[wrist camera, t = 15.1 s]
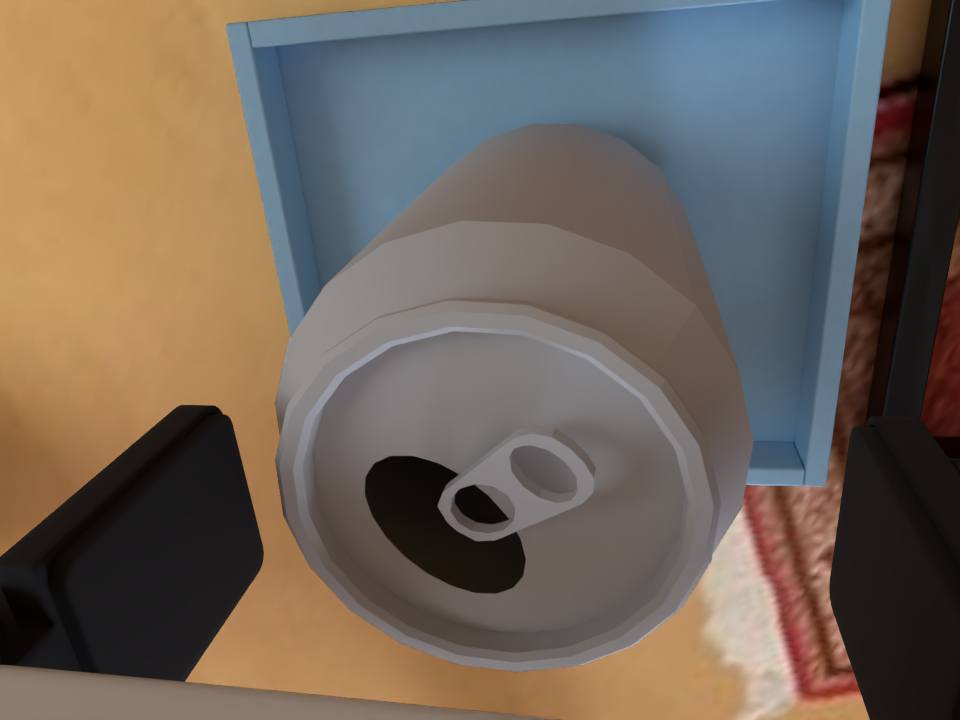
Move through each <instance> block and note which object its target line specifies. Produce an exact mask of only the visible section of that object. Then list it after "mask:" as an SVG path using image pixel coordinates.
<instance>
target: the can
mask: <svg viewBox="0 0 960 720" xmlns="http://www.w3.org/2000/svg"><path fill="white" fill-rule="evenodd" d="M275 405H276V412H277V419H278V426H279V433H280V441H279V445H278V450H277V454H276V459H275V463H276V469H277V476H278V483H279V489H280V496H281V503H282V509H283V516H284V518H285V520H286V522H287V523H288V525H289V527H290V529H291V531H292V533H293V535H294V537H295V539H296V541H297V543H298V545H299V547H300V549H301V551H302V553H303V555H304V557H305V559H306V561H307V563H308V565H309V567H310V568H311V569H312V570H313V571H314V572H315V573H316V574H317V575H318V576H319V577H320V578H321V580H322V581H323V582H324V583H325V584H326V585H327V586H328V587H329V588H330V589H331V590H332V591H333V592H334V594H335V595H336V596H337V597H338V598H339V599H340V600H341V601H342V602H343V603H344V604H345V605H346V606H347V608H348V609H349V610H351V611H352V612H354V613H355V614H357V615H358V616H360V617H361V618H363V619H364V620H366V621H367V622H369V623H370V624H372V625H373V626H375V627H377V628H378V629H380V630H381V631H383V632H384V633H386V634H387V635H389V636H390V637H392V638H393V639H395V640H396V641H398V642H399V643H401V644H404V645H406V646H409V647H412V648H414V649H417V650H420V651H423V652H425V653H428V654H431V655H433V656H436V657H439V658H442V659H444V660H447V661H450V662H452V663H455V664H459V665H466V666H474V667H481V668H489V669H496V670H504V671H511V672H525V671H535V670H545V669H555V668H565V667H574V666H581V665H583V664H586V663H589V662H591V661H594V660H597V659H599V658H602V657H605V656H607V655H610V654H613V653H615V652H618V651H621V650H623V649H626V648H629V647H631V646H634V645H636V644H637V643H638V642H640V641H641V640H642V639H644V638H645V637H646V636H647V635H649V634H650V633H651V632H653V631H654V630H655V629H656V628H658V627H659V626H660V625H662V624H663V623H664V622H665V621H667V620H668V619H669V618H671V617H672V616H673V615H674V614H676V613H677V612H678V611H680V610H681V609H682V607H683V605H684V604H685V602H686V601H687V599H688V597H689V596H690V594H691V593H692V591H693V589H694V588H695V586H696V585H697V583H698V581H699V580H700V578H701V577H702V575H703V573H704V572H705V570H706V569H707V567H708V565H709V564H710V562H711V560H712V554H713V552H714V551H715V549H716V548H717V546H718V544H719V543H720V541H721V540H722V538H723V536H724V535H725V533H726V532H727V530H728V528H729V527H730V525H731V524H732V522H733V520H734V519H735V517H736V515H737V514H738V512H739V511H740V509H741V507H742V503H743V497H744V492H745V486H746V481H747V475H748V470H749V464H750V459H751V453H752V448H753V442H754V441H753V436H752V432H751V427H750V422H749V417H748V412H747V408H746V403H745V398H744V393H743V388H742V384H741V379H740V374H739V370H738V367H737V364H736V361H735V358H734V355H733V352H732V349H731V346H730V343H729V340H728V337H727V334H726V331H725V328H724V325H723V322H722V319H721V316H720V313H719V310H718V307H717V304H716V301H715V298H714V295H713V292H712V289H711V286H710V283H709V280H708V277H707V274H706V271H705V268H704V265H703V262H702V259H701V256H700V253H699V250H698V247H697V244H696V241H695V238H694V235H693V232H692V229H691V226H690V223H689V220H688V217H687V214H686V211H685V208H684V206H683V205H682V203H681V201H680V200H679V198H678V197H677V195H676V193H675V192H674V190H673V189H672V187H671V185H670V184H669V182H668V181H667V179H666V177H665V176H664V174H663V173H662V171H661V169H659V168H658V167H657V166H656V165H654V164H653V163H652V162H651V161H649V160H648V159H647V158H646V157H644V156H643V155H642V154H641V153H639V152H638V151H637V150H636V149H634V148H633V147H632V146H631V145H629V144H628V143H627V142H626V141H624V140H622V139H619V138H616V137H614V136H611V135H608V134H605V133H603V132H600V131H597V130H594V129H591V128H589V127H586V126H583V125H580V124H536V123H532V124H529V125H526V126H523V127H520V128H517V129H514V130H510V131H507V132H504V133H501V134H498V135H495V136H492V137H488V138H487V139H486V140H484V141H483V142H482V143H480V144H479V145H478V146H476V147H475V148H474V149H472V150H471V151H470V152H468V153H467V154H465V155H464V156H463V157H461V158H460V159H459V160H457V161H456V162H455V163H453V164H452V165H451V166H450V167H449V168H448V169H447V170H446V171H445V172H444V173H443V174H442V175H441V176H440V177H438V178H437V179H436V180H435V181H434V182H433V183H432V184H431V185H430V186H429V187H428V188H427V189H426V190H425V191H424V192H423V193H422V194H421V195H420V196H418V197H417V198H416V199H415V200H414V201H413V202H412V203H411V204H410V205H409V206H408V207H407V208H406V209H405V210H404V211H403V212H402V213H401V214H400V215H399V216H397V217H396V218H395V219H394V220H393V221H392V222H391V223H390V224H389V225H388V226H387V227H386V228H385V229H384V230H383V231H382V232H381V233H380V234H379V235H378V236H376V237H375V238H374V239H373V240H372V241H371V242H370V243H369V244H368V245H367V246H366V247H365V248H364V249H363V250H362V251H361V252H360V253H359V254H358V255H357V256H355V257H354V258H353V259H352V260H351V261H350V262H349V263H348V264H347V265H346V266H345V267H344V268H343V269H342V270H341V271H340V272H339V273H338V274H337V275H336V276H334V277H333V278H332V279H331V280H330V281H329V282H328V283H327V284H326V285H325V286H324V288H323V289H322V291H321V292H320V294H319V295H318V297H317V298H316V300H315V301H314V303H313V304H312V306H311V308H310V309H309V311H308V312H307V314H306V315H305V317H304V318H303V320H302V321H301V323H300V324H299V326H298V327H297V329H296V330H295V332H294V333H293V335H292V336H291V338H290V340H289V341H288V345H287V350H286V354H285V359H284V364H283V368H282V373H281V378H280V383H279V387H278V392H277V397H276V402H275Z"/></svg>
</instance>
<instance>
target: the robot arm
mask: <svg viewBox="0 0 960 720" xmlns="http://www.w3.org/2000/svg"><path fill="white" fill-rule="evenodd" d="M263 555H264V551H263V545H262V541H261V537H260V533H259V529H258V525H257V521H256V517H255V513H254V509H253V505H252V501H251V497H250V493H249V489H248V485H247V481H246V477H245V473H244V469H243V465H242V461H241V457H240V452H239V448H238V444H237V440H236V436H235V432H234V428H233V424H232V422H231V419H230V418H229V417H228V416H227V415H223V414H222V412H221V410H220V409H219V408H218V407H216V406H205V405H180V406H178V407H176V408H175V409H174V410H173V411H171V412H170V413H169V414H168V415H167V416H166V417H164V418H163V419H162V420H161V421H160V422H159V423H157V424H156V425H155V426H154V427H153V428H151V429H150V430H149V431H148V432H147V433H146V434H144V435H143V436H142V437H141V438H140V439H139V440H137V441H136V442H135V443H134V444H133V445H131V446H130V447H129V448H128V449H127V450H126V451H124V452H123V453H122V454H121V455H120V456H119V457H117V458H116V459H115V460H114V461H113V462H111V463H110V464H109V465H108V466H107V467H106V468H104V469H103V470H102V471H101V472H100V473H99V474H97V475H96V476H95V477H94V478H93V479H91V480H90V481H89V482H88V483H87V484H86V485H84V486H83V487H82V488H81V489H80V490H78V491H77V492H76V493H75V494H74V495H73V496H71V497H70V498H69V499H68V500H67V501H66V502H64V503H63V504H62V505H61V506H60V507H58V508H57V509H56V510H55V511H54V512H53V513H51V514H50V515H49V516H48V517H47V518H46V519H44V520H43V521H42V522H41V523H40V524H38V525H37V526H36V527H35V528H34V529H33V530H31V531H30V532H29V533H28V534H27V535H26V536H24V537H23V538H22V539H21V540H20V541H18V542H17V543H16V544H15V545H14V546H13V547H11V548H10V549H9V550H8V551H7V552H6V553H4V554H3V555H2V556H1V557H0V720H560V719H551V718H542V717H532V716H523V715H514V714H504V713H495V712H485V711H475V710H465V709H455V708H445V707H436V706H426V705H416V704H406V703H396V702H386V701H377V700H366V699H356V698H346V697H336V696H326V695H316V694H306V693H296V692H286V691H276V690H266V689H255V688H245V687H234V686H224V685H213V684H203V683H192V682H185V680H186V679H187V677H188V676H189V674H190V673H191V671H192V670H193V668H194V667H195V666H196V664H197V663H198V661H199V660H200V658H201V657H202V655H203V654H204V652H205V651H206V649H207V648H208V646H209V645H210V643H211V642H212V640H213V639H214V637H215V636H216V634H217V633H218V632H219V630H220V629H221V627H222V626H223V624H224V623H225V621H226V620H227V618H228V617H229V615H230V614H231V612H232V611H233V609H234V608H235V606H236V605H237V603H238V602H239V600H240V599H241V598H242V596H243V595H244V593H245V592H246V590H247V589H248V587H249V586H250V584H251V583H252V581H253V580H254V578H255V577H256V575H257V574H258V572H259V570H260V569H261V566H262V563H263ZM830 600H831V606H832V609H833V613H834V615H835V618H836V621H837V624H838V627H839V630H840V633H841V636H842V639H843V642H844V645H845V648H846V651H847V654H848V657H849V660H850V662H851V665H852V668H853V671H854V674H855V677H856V680H857V683H858V686H859V689H860V692H861V695H862V698H863V701H864V704H865V707H866V709H867V712H868V715H869V718H870V720H960V474H959V472H958V471H957V469H956V468H955V467H954V465H953V464H952V462H951V461H950V460H949V458H948V457H947V456H946V454H945V453H944V451H943V450H942V449H941V447H940V446H939V444H938V443H937V442H936V440H935V439H934V438H933V436H932V435H931V433H930V432H929V431H928V429H927V428H926V426H925V425H924V424H923V422H922V421H921V420H920V419H919V418H918V417H884V416H871V417H870V418H869V419H868V420H867V423H866V426H865V427H859V426H855V427H854V428H853V429H852V432H851V436H850V442H849V449H848V456H847V463H846V470H845V477H844V484H843V491H842V498H841V505H840V512H839V519H838V527H837V534H836V541H835V548H834V555H833V562H832V569H831V576H830Z"/></svg>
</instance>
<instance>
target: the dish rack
mask: <svg viewBox="0 0 960 720" xmlns="http://www.w3.org/2000/svg"><path fill="white" fill-rule="evenodd" d="M959 213H960V0H932V5H931V11H930V17H929V24H928V30H927V36H926V43H925V49H924V55H923V62H922V68H921V75H920V81H919V87H918V94H917V100H916V106H915V113H914V119H913V125H912V132H911V138H910V145H909V151H908V157H907V164H906V170H905V176H904V183H903V189H902V195H901V202H900V208H899V215H898V221H897V227H896V234H895V240H894V246H893V253H892V259H891V265H890V272H889V278H888V285H887V291H886V297H885V304H884V310H883V316H882V323H881V329H880V335H879V342H878V348H877V355H876V361H875V367H874V374H873V380H872V386H871V393H870V399H869V405H868V412H867V418H866V423H867V420H868V419H869V418H870V417H871V416H884V417H918V418H919V419H920V416H921V411H922V406H923V400H924V395H925V390H926V385H927V380H928V374H929V369H930V364H931V359H932V354H933V348H934V343H935V338H936V333H937V328H938V322H939V317H940V312H941V307H942V302H943V296H944V291H945V286H946V281H947V276H948V271H949V265H950V260H951V255H952V250H953V245H954V239H955V234H956V229H957V224H958V219H959ZM865 426H866V425H865ZM933 438H934V439H935V440H936V442H937V443H938V444H939V446H940V447H941V449H942V450H943V451H944V453H945V454H946V456H947V457H948V458H949V460H950V461H951V462H952V464H953V465H954V467H955V468H956V469H957V471H958V472H959V474H960V437H933Z"/></svg>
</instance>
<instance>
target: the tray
mask: <svg viewBox="0 0 960 720" xmlns="http://www.w3.org/2000/svg"><path fill="white" fill-rule="evenodd" d="M891 4H892V0H462V1H452V2H442V3H431V4H421V5H411V6H401V7H391V8H381V9H370V10H360V11H350V12H340V13H330V14H320V15H310V16H299V17H289V18H279V19H269V20H259V21H250V22H239V23H228V24H227V25H226V30H227V34H228V39H229V44H230V49H231V53H232V58H233V63H234V68H235V72H236V77H237V82H238V87H239V92H240V96H241V101H242V106H243V111H244V115H245V120H246V125H247V130H248V134H249V139H250V144H251V149H252V153H253V158H254V163H255V168H256V173H257V177H258V182H259V187H260V192H261V196H262V201H263V206H264V211H265V215H266V220H267V225H268V230H269V234H270V239H271V244H272V249H273V254H274V258H275V263H276V268H277V273H278V277H279V282H280V287H281V292H282V296H283V301H284V306H285V311H286V316H287V320H288V325H289V330H290V335H291V336H292V335H293V333H294V332H295V330H296V329H297V327H298V326H299V324H300V323H301V321H302V320H303V318H304V317H305V315H306V314H307V312H308V311H309V309H310V308H311V306H312V304H313V303H314V301H315V300H316V298H317V297H318V295H319V294H320V292H321V291H322V289H323V288H324V286H325V285H326V284H327V283H328V282H329V281H330V280H331V279H332V278H333V277H334V276H336V275H337V274H338V273H339V272H340V271H341V270H342V269H343V268H344V267H345V266H346V265H347V264H348V263H349V262H350V261H351V260H352V259H353V258H354V257H355V256H357V255H358V254H359V253H360V252H361V251H362V250H363V249H364V248H365V247H366V246H367V245H368V244H369V243H370V242H371V241H372V240H373V239H374V238H375V237H376V236H378V235H379V234H380V233H381V232H382V231H383V230H384V229H385V228H386V227H387V226H388V225H389V224H390V223H391V222H392V221H393V220H394V219H395V218H396V217H397V216H399V215H400V214H401V213H402V212H403V211H404V210H405V209H406V208H407V207H408V206H409V205H410V204H411V203H412V202H413V201H414V200H415V199H416V198H417V197H418V196H420V195H421V194H422V193H423V192H424V191H425V190H426V189H427V188H428V187H429V186H430V185H431V184H432V183H433V182H434V181H435V180H436V179H437V178H438V177H440V176H441V175H442V174H443V173H444V172H445V171H446V170H447V169H448V168H449V167H450V166H451V165H452V164H453V163H455V162H456V161H457V160H459V159H460V158H461V157H463V156H464V155H465V154H467V153H468V152H470V151H471V150H472V149H474V148H475V147H476V146H478V145H479V144H480V143H482V142H483V141H484V140H486V139H487V138H488V137H492V136H495V135H498V134H501V133H504V132H507V131H510V130H514V129H517V128H520V127H523V126H526V125H529V124H532V123H536V124H580V125H583V126H586V127H589V128H591V129H594V130H597V131H600V132H603V133H605V134H608V135H611V136H614V137H616V138H619V139H622V140H624V141H626V142H627V143H628V144H629V145H631V146H632V147H633V148H634V149H636V150H637V151H638V152H639V153H641V154H642V155H643V156H644V157H646V158H647V159H648V160H649V161H651V162H652V163H653V164H654V165H656V166H657V167H658V168H659V169H661V171H662V173H663V174H664V176H665V177H666V179H667V181H668V182H669V184H670V185H671V187H672V189H673V190H674V192H675V193H676V195H677V197H678V198H679V200H680V201H681V203H682V205H683V206H684V208H685V211H686V214H687V217H688V220H689V223H690V226H691V229H692V232H693V235H694V238H695V241H696V244H697V247H698V250H699V253H700V256H701V259H702V262H703V265H704V268H705V271H706V274H707V277H708V280H709V283H710V286H711V289H712V292H713V295H714V298H715V301H716V304H717V307H718V310H719V313H720V316H721V319H722V322H723V325H724V328H725V331H726V334H727V337H728V340H729V343H730V346H731V349H732V352H733V355H734V358H735V361H736V364H737V367H738V370H739V374H740V379H741V384H742V388H743V393H744V398H745V403H746V408H747V412H748V417H749V422H750V427H751V432H752V436H753V441H754V442H753V448H752V453H751V459H750V464H749V470H748V475H747V481H746V485H777V486H802V485H803V484H804V485H805V486H817V487H824V486H825V485H826V480H827V473H828V466H829V458H830V451H831V444H832V436H833V429H834V422H835V414H836V407H837V400H838V392H839V385H840V378H841V370H842V363H843V356H844V348H845V341H846V334H847V327H848V319H849V312H850V305H851V297H852V290H853V283H854V275H855V268H856V261H857V253H858V246H859V239H860V231H861V224H862V217H863V209H864V202H865V195H866V187H867V180H868V173H869V165H870V158H871V151H872V143H873V136H874V129H875V121H876V114H877V107H878V99H879V92H880V85H881V77H882V70H883V63H884V55H885V48H886V41H887V33H888V26H889V19H890V11H891Z"/></svg>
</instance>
